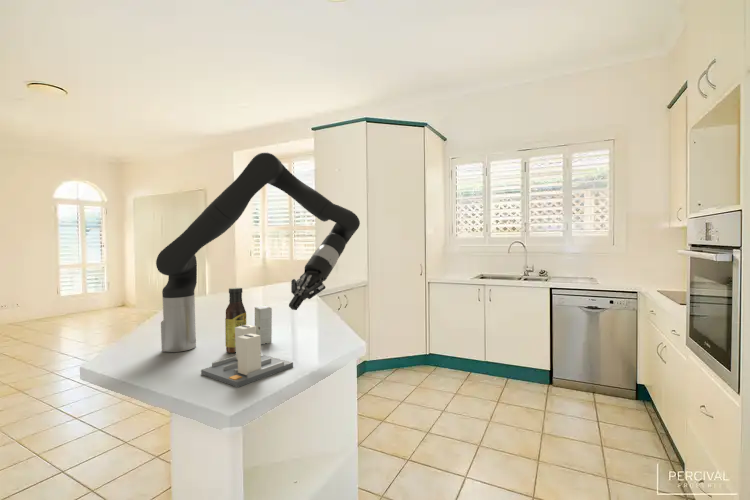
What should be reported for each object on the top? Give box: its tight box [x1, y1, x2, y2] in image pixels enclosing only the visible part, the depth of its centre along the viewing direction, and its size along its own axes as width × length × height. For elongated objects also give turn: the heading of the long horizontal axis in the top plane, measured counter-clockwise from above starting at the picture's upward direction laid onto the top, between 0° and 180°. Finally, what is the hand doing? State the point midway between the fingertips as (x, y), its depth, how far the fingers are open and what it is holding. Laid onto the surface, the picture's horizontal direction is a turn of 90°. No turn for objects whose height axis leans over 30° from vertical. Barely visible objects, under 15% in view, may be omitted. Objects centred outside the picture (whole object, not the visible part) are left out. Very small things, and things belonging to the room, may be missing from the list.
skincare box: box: [254, 305, 273, 345], centre depth 127 cm, size 6×4×12 cm
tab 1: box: [235, 324, 256, 360], centre depth 103 cm, size 4×4×9 cm
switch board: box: [200, 353, 294, 388], centre depth 98 cm, size 17×16×2 cm
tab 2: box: [237, 333, 262, 375], centre depth 93 cm, size 4×4×9 cm
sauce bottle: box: [224, 287, 247, 354], centre depth 117 cm, size 7×6×20 cm
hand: (292, 308), depth 104 cm, fingers closed
